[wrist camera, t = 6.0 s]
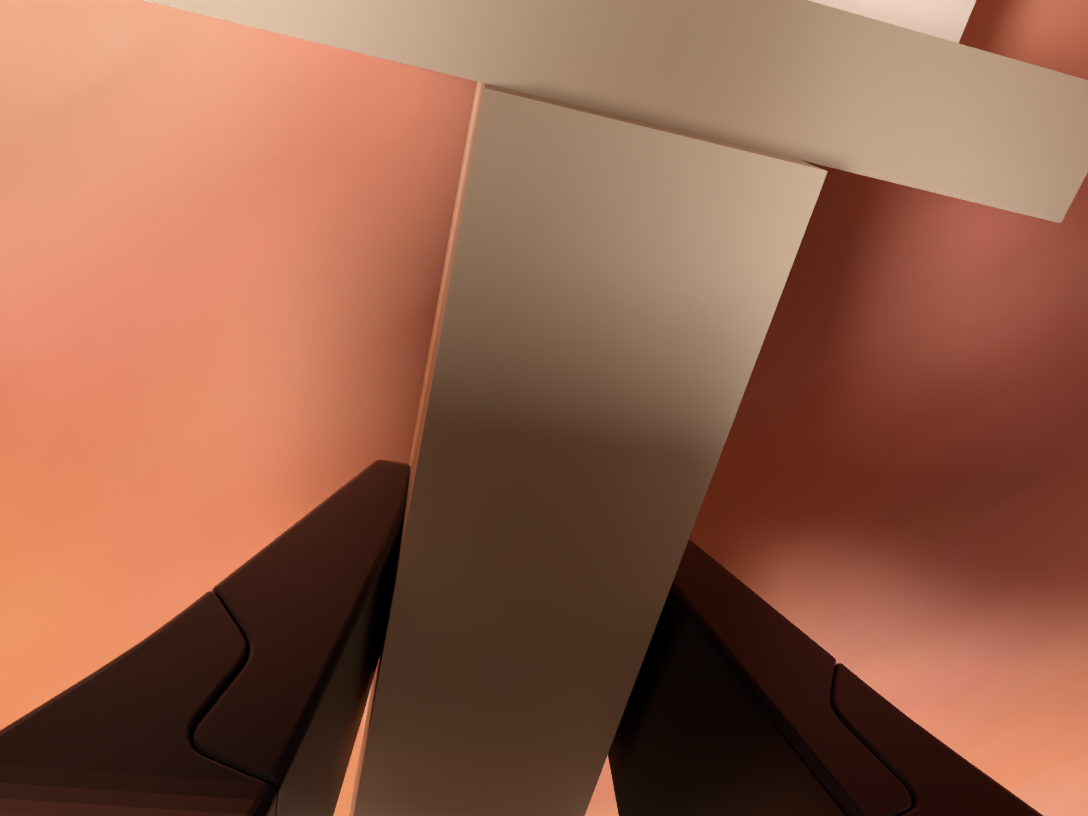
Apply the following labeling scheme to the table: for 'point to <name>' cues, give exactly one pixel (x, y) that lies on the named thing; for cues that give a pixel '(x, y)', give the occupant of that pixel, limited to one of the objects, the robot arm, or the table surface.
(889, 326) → the table surface
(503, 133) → the pusher
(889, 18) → the tile
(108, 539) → the table surface
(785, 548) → the table surface
